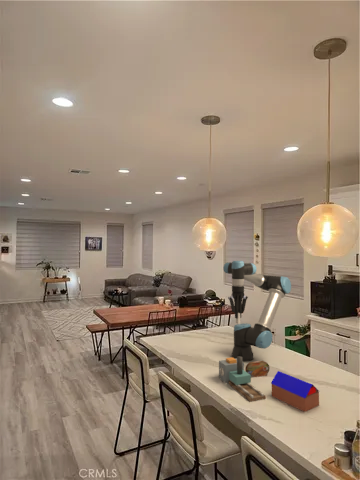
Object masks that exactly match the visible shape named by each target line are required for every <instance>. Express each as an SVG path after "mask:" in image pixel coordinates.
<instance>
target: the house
mask: <svg viewBox="0 0 360 480" xmlns="http://www.w3.org/2000/svg"><path fill="white" fill-rule="evenodd" d="M270 384H271V396H272V397H273V398H276V399H278V400H279V401H281V402H283V403H285V404H288V405H289V406H292V407H294V408H296V409H298V410H300V411H302V412H304V413H306V412H308V411H310V410H312V409H314V408H316V407H318V406H320V397H319V396H320V390H319V389H318V388H317V387H316V386H315V385H314V384H313V383H310V382H307V381H305V380H303V379H301V378H298V377H295V376H292V375H290V374H287V373H285V372H282V371H280V370H277V372H276V374H275V375H274V377H273V379H272V380H271V382H270Z"/></svg>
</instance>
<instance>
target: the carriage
mask: <svg viewBox="0 0 360 480" xmlns="http://www.w3.org/2000/svg"><path fill="white" fill-rule="evenodd" d="M243 363H244V361H243V360H242V357H241V356H237V371H232V372H229V379H230V380H231V381H232V382H233V383H235V384H236V385H239V384H245V383H250V384H251V383H252V377H251V375H250V374H249V373H247V372H246V371H245V369H244V370H243Z"/></svg>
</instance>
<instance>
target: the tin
mask: <svg viewBox="0 0 360 480" xmlns="http://www.w3.org/2000/svg"><path fill="white" fill-rule="evenodd" d="M244 371H246V372H247V373H249V374H250V375H251V378H259V377H265V376H267V375H268V374H269V372H270V365H269V363H268V362H266V361H264V360H257V361H250V362H248V363H247V364H246V365H245V367H244Z"/></svg>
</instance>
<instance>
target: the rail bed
mask: <svg viewBox="0 0 360 480" xmlns="http://www.w3.org/2000/svg"><path fill="white" fill-rule="evenodd" d="M228 384H229V386H231V388H233V389H235V390H236V392H238V393H239V394H241V395H242V396H243V397H244V398H245V399H246V400H247V401H248V402H250V403H251V402H256V401H260V400H265V399H266V397H267V396H266V395H265V393H263V392H262V391H261V390H259V389H258V388H256V386H253V385H252V384H251V383H245V384H239V385H236V384H235V383H233V382H232V381H231V380H230V381H229V383H228Z"/></svg>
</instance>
